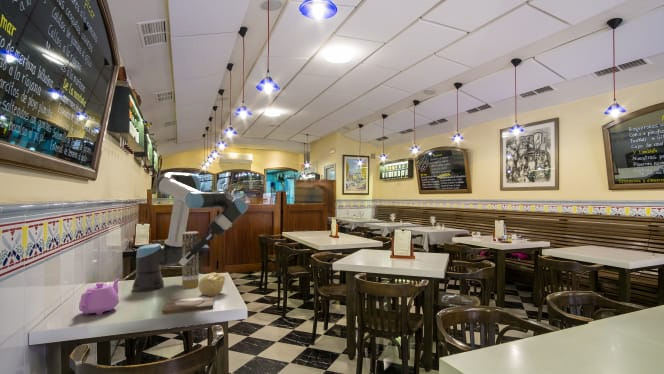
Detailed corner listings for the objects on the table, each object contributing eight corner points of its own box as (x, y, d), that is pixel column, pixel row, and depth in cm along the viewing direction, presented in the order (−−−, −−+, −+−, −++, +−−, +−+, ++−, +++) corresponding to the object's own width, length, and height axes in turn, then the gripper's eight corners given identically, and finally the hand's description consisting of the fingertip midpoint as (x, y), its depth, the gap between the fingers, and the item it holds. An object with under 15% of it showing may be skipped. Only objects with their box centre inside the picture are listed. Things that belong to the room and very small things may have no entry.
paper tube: (201, 286, 156) (201, 231, 157) (193, 289, 149) (193, 232, 150) (187, 285, 157) (187, 231, 158) (179, 289, 150) (179, 232, 151)
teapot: (106, 303, 158) (106, 277, 159) (132, 304, 156) (133, 277, 156) (65, 318, 139) (66, 287, 139) (95, 319, 136) (95, 289, 137)
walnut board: (167, 303, 157) (167, 298, 157) (213, 298, 164) (213, 294, 164) (162, 313, 142) (162, 309, 142) (212, 308, 148) (212, 304, 149)
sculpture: (216, 298, 165) (216, 275, 165) (194, 296, 167) (194, 274, 168) (228, 291, 176) (228, 270, 177) (207, 290, 179) (207, 270, 179)
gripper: (226, 232, 150) (186, 272, 144) (225, 229, 168) (190, 264, 162) (213, 220, 148) (172, 260, 142) (214, 218, 167) (178, 254, 161)
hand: (181, 262), depth 152 cm, fingers closed on paper tube, 7 cm apart
